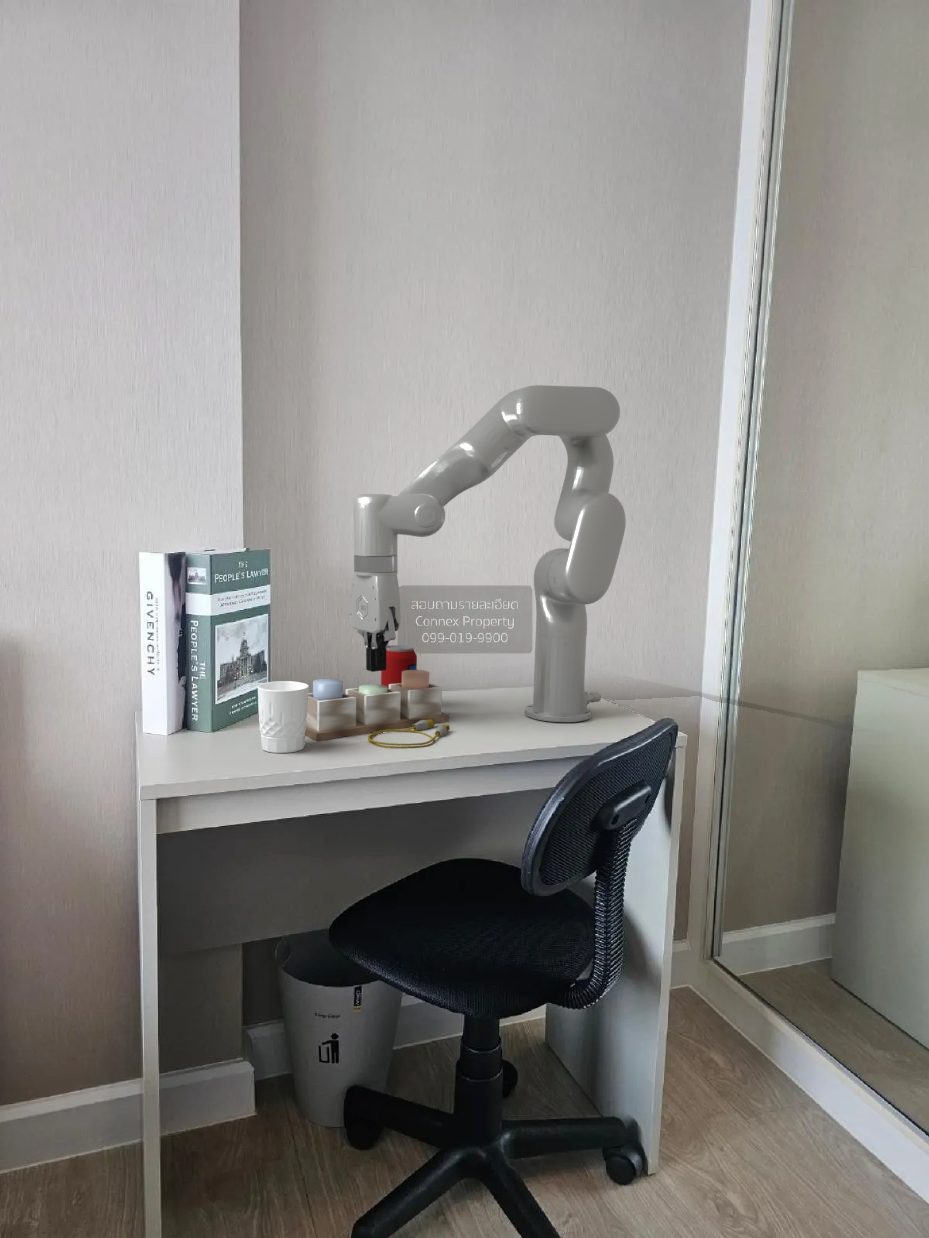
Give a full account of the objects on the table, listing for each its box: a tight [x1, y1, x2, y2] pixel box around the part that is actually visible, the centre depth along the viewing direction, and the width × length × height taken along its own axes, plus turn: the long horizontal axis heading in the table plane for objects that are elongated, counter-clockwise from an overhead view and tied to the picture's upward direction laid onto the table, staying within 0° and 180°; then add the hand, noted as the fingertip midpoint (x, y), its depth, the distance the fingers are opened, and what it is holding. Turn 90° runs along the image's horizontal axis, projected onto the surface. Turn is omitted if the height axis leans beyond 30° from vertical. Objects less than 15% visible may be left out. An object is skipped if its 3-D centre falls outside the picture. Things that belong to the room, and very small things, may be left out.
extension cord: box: [367, 719, 451, 749], centre depth 151 cm, size 12×16×2 cm
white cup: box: [257, 680, 310, 754], centre depth 142 cm, size 8×8×10 cm
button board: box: [305, 683, 450, 742], centre depth 158 cm, size 27×9×6 cm, turn 127°
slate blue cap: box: [312, 678, 344, 701], centre depth 153 cm, size 5×5×5 cm
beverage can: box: [380, 644, 418, 688], centre depth 171 cm, size 7×7×12 cm
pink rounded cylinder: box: [402, 669, 430, 690], centre depth 164 cm, size 5×5×5 cm
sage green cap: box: [358, 683, 387, 695], centre depth 158 cm, size 5×5×5 cm
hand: (376, 670), depth 158 cm, fingers closed
